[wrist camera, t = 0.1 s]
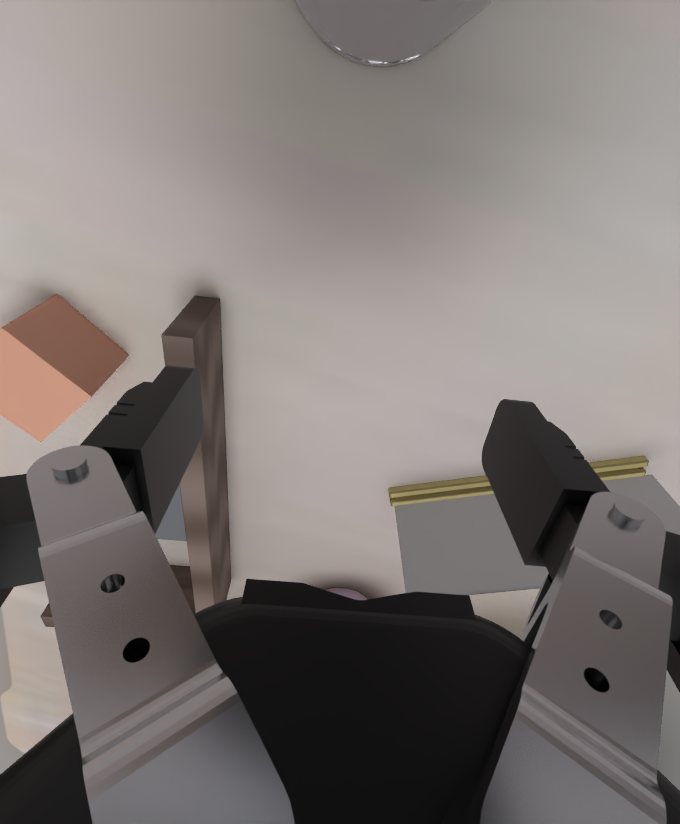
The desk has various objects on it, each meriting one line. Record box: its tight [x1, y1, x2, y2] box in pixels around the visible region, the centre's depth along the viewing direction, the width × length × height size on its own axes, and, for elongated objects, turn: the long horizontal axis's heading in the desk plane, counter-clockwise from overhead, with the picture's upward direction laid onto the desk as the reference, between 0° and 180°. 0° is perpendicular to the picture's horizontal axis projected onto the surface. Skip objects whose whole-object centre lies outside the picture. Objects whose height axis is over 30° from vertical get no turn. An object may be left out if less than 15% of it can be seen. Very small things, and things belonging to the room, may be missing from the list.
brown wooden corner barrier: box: [41, 296, 231, 627], centre depth 33 cm, size 30×15×6 cm, turn 173°
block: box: [0, 294, 129, 442], centre depth 28 cm, size 6×6×6 cm
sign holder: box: [388, 456, 680, 595], centre depth 32 cm, size 21×2×10 cm, turn 100°
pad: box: [155, 484, 187, 541], centre depth 37 cm, size 9×9×1 cm
